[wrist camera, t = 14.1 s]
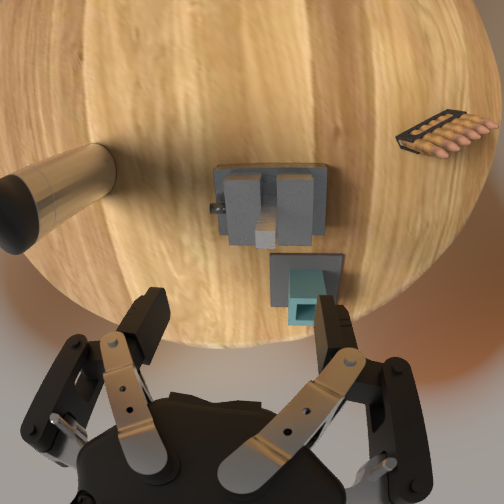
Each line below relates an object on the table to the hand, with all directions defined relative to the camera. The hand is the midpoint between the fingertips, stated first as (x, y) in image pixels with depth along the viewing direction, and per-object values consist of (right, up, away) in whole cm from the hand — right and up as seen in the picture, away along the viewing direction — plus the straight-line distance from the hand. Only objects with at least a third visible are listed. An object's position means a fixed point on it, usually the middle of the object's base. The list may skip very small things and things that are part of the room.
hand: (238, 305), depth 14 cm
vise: (+3, +10, +23) cm, 25 cm away
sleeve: (+9, -2, +28) cm, 30 cm away
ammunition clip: (+25, +20, +15) cm, 35 cm away
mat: (+9, -2, +29) cm, 30 cm away
